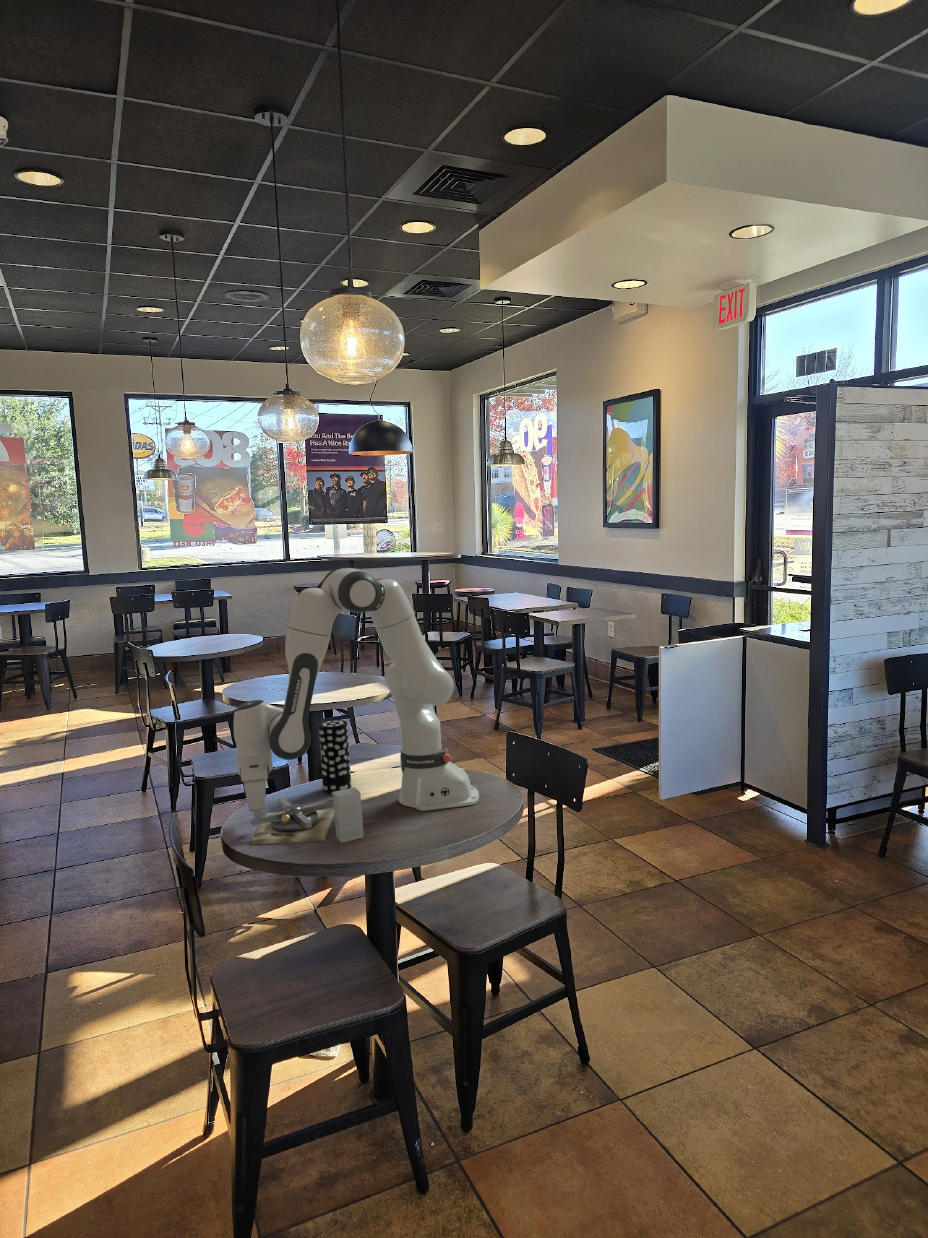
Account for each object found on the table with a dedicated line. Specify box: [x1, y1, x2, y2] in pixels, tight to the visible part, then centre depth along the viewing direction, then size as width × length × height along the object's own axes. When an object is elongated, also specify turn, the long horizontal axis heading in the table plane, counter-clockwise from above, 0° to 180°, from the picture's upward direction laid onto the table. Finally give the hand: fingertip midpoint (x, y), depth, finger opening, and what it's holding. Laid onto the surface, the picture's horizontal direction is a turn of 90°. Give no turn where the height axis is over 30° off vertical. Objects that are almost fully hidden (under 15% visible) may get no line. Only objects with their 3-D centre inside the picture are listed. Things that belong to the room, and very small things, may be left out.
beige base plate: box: [251, 809, 335, 845], centre depth 206 cm, size 18×18×1 cm
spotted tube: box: [318, 719, 352, 795], centre depth 234 cm, size 8×8×20 cm
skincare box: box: [332, 786, 365, 843], centre depth 198 cm, size 6×4×12 cm
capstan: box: [250, 797, 334, 832], centre depth 206 cm, size 17×17×4 cm
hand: (258, 816), depth 205 cm, fingers closed
